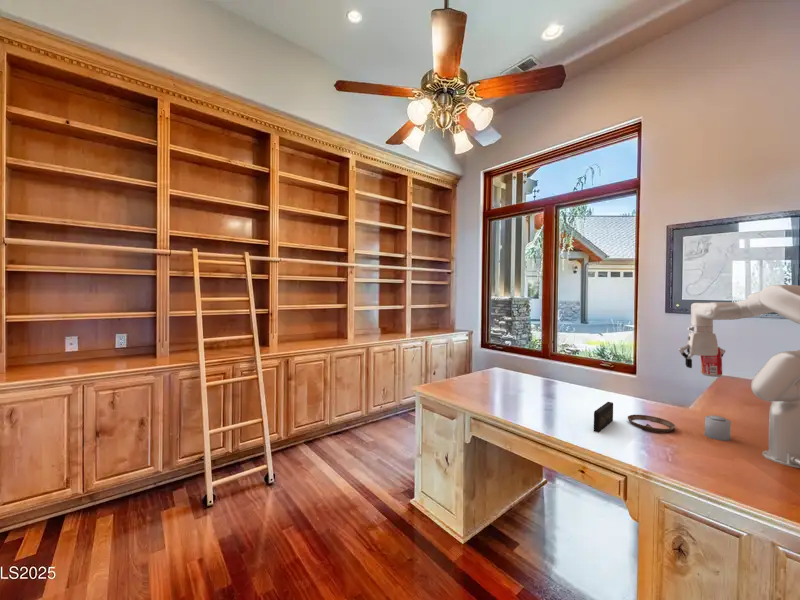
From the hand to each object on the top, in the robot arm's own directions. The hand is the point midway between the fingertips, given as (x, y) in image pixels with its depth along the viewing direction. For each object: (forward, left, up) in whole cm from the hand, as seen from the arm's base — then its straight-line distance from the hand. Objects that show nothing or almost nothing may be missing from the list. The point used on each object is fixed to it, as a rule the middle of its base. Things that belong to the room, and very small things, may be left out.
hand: (701, 368), depth 156 cm
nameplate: (-13, +42, -28) cm, 52 cm away
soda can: (+1, -4, -4) cm, 6 cm away
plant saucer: (-5, +21, -28) cm, 35 cm away
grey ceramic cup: (-11, -1, -27) cm, 29 cm away
